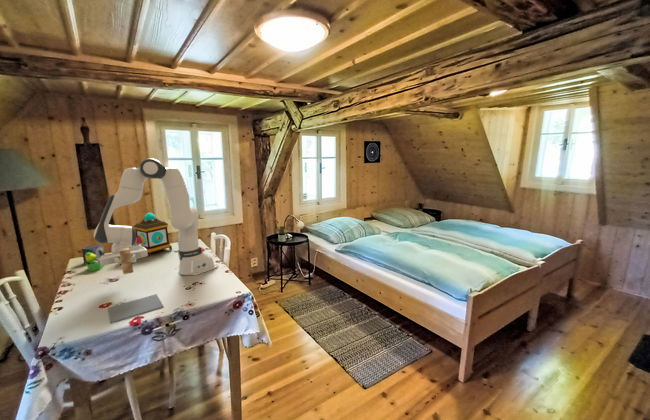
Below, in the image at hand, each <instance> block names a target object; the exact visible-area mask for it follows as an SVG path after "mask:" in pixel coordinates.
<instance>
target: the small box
mask: <svg viewBox="0 0 650 420" xmlns="http://www.w3.org/2000/svg"><path fill="white" fill-rule="evenodd" d="M88 252H90V253H92V254H95V255H96V256H97V257H96V258H100V257H101V256H103V255H106V254H105V249H104V244H100V243H99V244H97V243H95V244H93V245H89V246H87V247H86V246H85V247H82V248H81V253H82V258H83V264H87V263H88V261H87V260H86V257H85V254H86V253H88Z"/></svg>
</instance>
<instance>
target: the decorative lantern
mask: <svg viewBox="0 0 650 420" xmlns="http://www.w3.org/2000/svg"><path fill="white" fill-rule="evenodd" d="M168 226H169V223H167V222H166V221H163V220H160V219H158V218H157V217H156V215H155V214H154V213H152V212H147V213H146V214H145V215H144V219H142V220H141V221H140V222H138V223H136V224H134V225H133V226H132V227H133V228H134V229H135V231H136V243H137V244H136V245H139V244H140V245H141V246H142V247H145V248H146V249H147V252H148V256H147V257H148V258H150V257H151V254H152V253H155V252H158V251H163V250H166V249H169V251H172V249H173V248H172V245H171V244H170V240H169V239H170V238H169V233H168V232H169V231H168Z"/></svg>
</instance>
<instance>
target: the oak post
mask: <svg viewBox="0 0 650 420" xmlns="http://www.w3.org/2000/svg"><path fill="white" fill-rule="evenodd" d="M119 253H120V258H121V262H122V263H121V267H122V268H121V269H122V270H121V271H122V273H123V275H127V274H131V273H134V268H133V267H134V266H133V263H132V261H131V255H130V249H129V248H124V249H119Z"/></svg>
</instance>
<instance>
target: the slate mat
mask: <svg viewBox="0 0 650 420" xmlns="http://www.w3.org/2000/svg"><path fill="white" fill-rule="evenodd" d="M161 308H164V304H163V302H162V301H161V300H160V298H159V296H158V294H157V293H156V294H151V295H148V296H145V297H141V298H138V299H134V300H131V301H128V302H125V303H120V304H117V305H113V306H110V307H107V309H108V313H109V320H110V324H113V323H114V324H115V323H118V322H120V321H123V320H127V319H130V318H133V317H134V318H135V317H136V316H140V315H143V314H146V313H149V312H152V311H157V310H159V309H161Z"/></svg>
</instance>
